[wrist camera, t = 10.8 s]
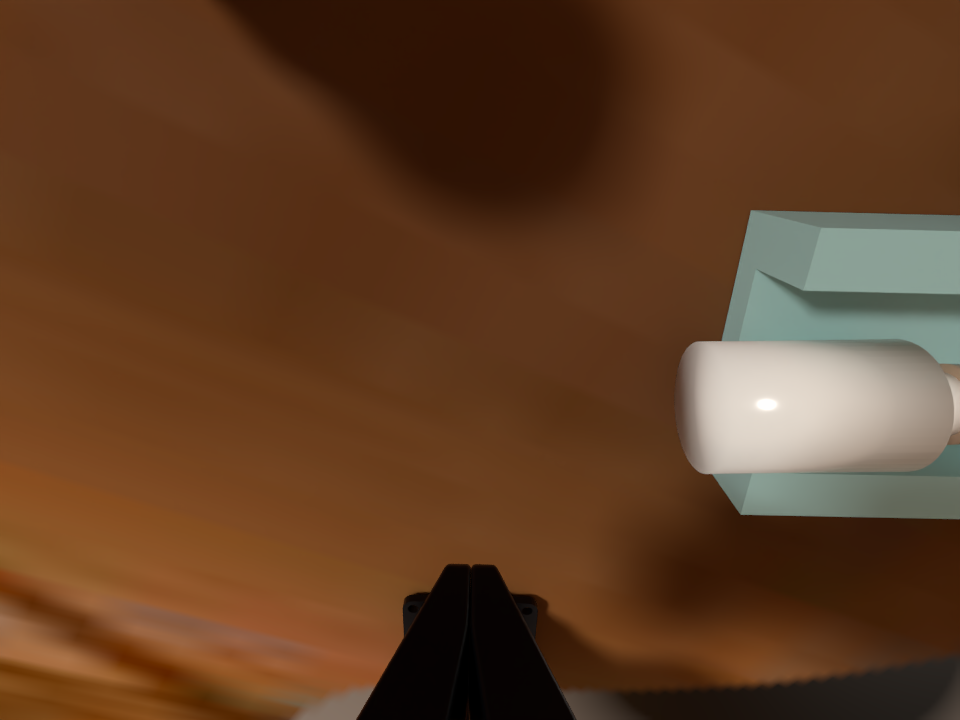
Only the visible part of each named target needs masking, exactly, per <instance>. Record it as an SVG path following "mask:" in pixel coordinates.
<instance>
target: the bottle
mask: <svg viewBox="0 0 960 720" xmlns="http://www.w3.org/2000/svg"><path fill="white" fill-rule="evenodd" d="M674 404H675V418H676V425H677V430H678V435H679V439H680V442H681V445H682V448H683V450H684V453H685V455H686V457H687V459H688V461H689V462H690V464H691V465H692V466H693V467H694V468H695V469H696V470H697V471H698V472H700V473H703V474H744V473H832V472H911V471H916V470H919V469H922V468H925V467H926V466H928V465H930V464H931V463H932V462H934V461H935V460H936V459H937V458H938V457H939V456H940V454H941V453H942V452H943V450H944V449H945V447H946V445H960V364H938V362H937V361H936V360H935V359H934V358H933V356H932V355H930V354H929V353H928V352H927V351H926V350H925V349H923V348H922V347H920V346H919V345H917V344H915V343H913V342H910V341H906V340H901V339H857V340H782V341H708V342H695V343H693V344H691V345H690V346H689V347H688V348H687V349H686V351H685V352H684V354H683V356H682V358H681V361H680V363H679V367H678V371H677V375H676V382H675V395H674Z"/></svg>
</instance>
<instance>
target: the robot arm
mask: <svg viewBox="0 0 960 720" xmlns="http://www.w3.org/2000/svg"><path fill="white" fill-rule="evenodd" d="M470 590H471V596H470ZM412 605H415V606H412ZM526 607H529V608H526ZM537 613H538V610H537V603H536V601H535V599H533V598H531V597H517V596H512V595H511V594H510V592H509V590H508V588H507V586H506V584H505V582H504V580H503V578H502V576H501V574H500V573H499V571H498V569H497V567H496V566H494V565H481V564H475V565H473V566H472V568H471V567H470V566H469V565H468V564H448V565H447V566H446V567H445V568H444V570H443V571H442V573H441V575H440V577H439V578H438V580H437V582H436V583H435V585H434V587H433V589H432V590H431V592H430V594H429V595H409V596H407V597H406V598H405V599H404V604H403V624H404V638H403V640H402V642H401V643H400V645H399V647H398V649H397V650H396V652H395V654H394V656H393V657H392V659H391V661H390V662H389V664H388V666H387V668H386V669H385V671H384V673H383V674H382V676H381V678H380V680H379V681H378V683H377V685H376V686H375V688H374V690H373V692H372V693H371V695H370V697H369V698H368V700H367V702H366V704H365V705H364V707H363V709H362V710H361V712H360V714H359V716H358V717H357V719H356V720H576V718H575V716H574V714H573V712H572V710H571V708H570V706H569V704H568V703H567V701H566V699H565V697H564V695H563V693H562V691H561V689H560V687H559V685H558V683H557V681H556V680H555V678H554V676H553V674H552V672H551V670H550V668H549V666H548V664H547V662H546V660H545V658H544V657H543V655H542V653H541V651H540V649H539V647H538V645H537V643H536V641H535V634H536V624H537Z"/></svg>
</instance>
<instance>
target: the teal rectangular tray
mask: <svg viewBox="0 0 960 720" xmlns="http://www.w3.org/2000/svg"><path fill="white" fill-rule="evenodd" d="M857 339H901V340H906V341H910V342H913V343H915V344H917V345H919V346H920V347H922V348H923V349H925V350H926V351H927V352H928V353H929V354H930V355H932V356H933V358H934V359H935V360H936V361H937V362H938V364H960V216H956V215H916V214H875V213H835V212H795V211H755V210H751V213H750V218H749V222H748V226H747V231H746V235H745V240H744V244H743V249H742V253H741V258H740V262H739V266H738V271H737V275H736V280H735V284H734V289H733V293H732V298H731V302H730V306H729V311H728V315H727V320H726V324H725V329H724V333H723V338H722V341H782V340H857ZM713 476H714V477H715V479H716V480H717V482H718V483H719V485H720V486H721V487H722V489H723V490H724V492H725V493H726V495H727V496H728V497H729V499H730V500H731V502H732V503H733V505H734V506H735V507H736V509H737V510H738V512H739V513H740V515H779V516H828V517H877V518H926V519H960V445H946V447H945V449H944V450H943V452H942V453H941V454H940V456H939V457H938V458H937V459H936V460H935V461H934V462H932V463H931V464H930V465H928V466H926V467H925V468H922V469H919V470H916V471H911V472H832V473H744V474H713Z"/></svg>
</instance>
